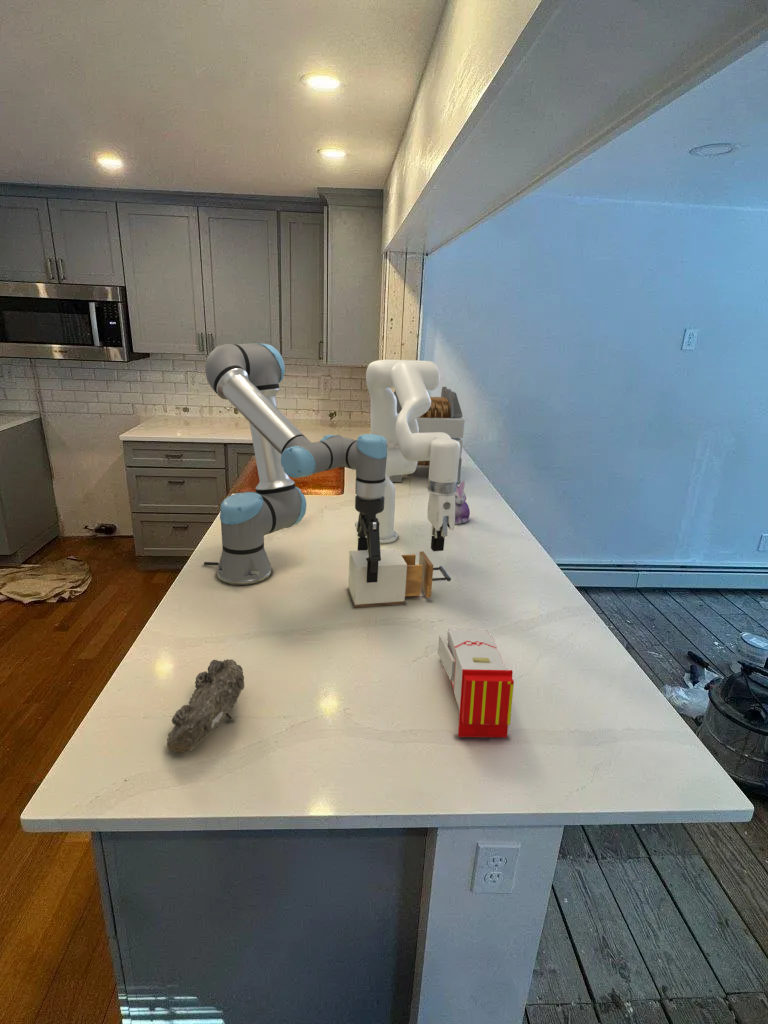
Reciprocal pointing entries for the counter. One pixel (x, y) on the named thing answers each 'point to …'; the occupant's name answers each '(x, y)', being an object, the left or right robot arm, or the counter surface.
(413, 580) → the drawer
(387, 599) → the off-white box shell
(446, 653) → the toy
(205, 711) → the fossil
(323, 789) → the counter surface
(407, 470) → the right robot arm
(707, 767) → the counter surface
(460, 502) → the figurine
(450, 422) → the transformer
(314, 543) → the counter surface
